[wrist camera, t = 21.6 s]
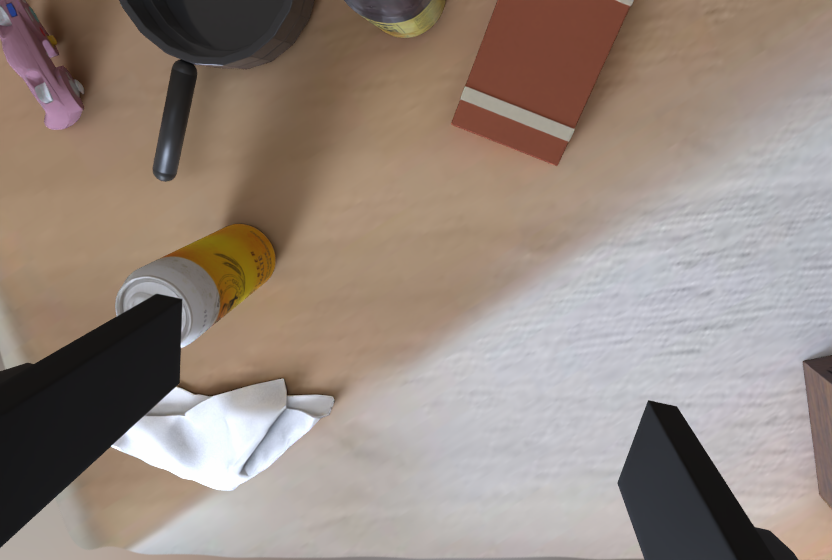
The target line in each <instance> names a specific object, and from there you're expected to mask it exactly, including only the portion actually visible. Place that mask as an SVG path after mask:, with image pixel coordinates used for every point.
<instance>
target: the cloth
mask: <svg viewBox="0 0 832 560" xmlns="http://www.w3.org/2000/svg"><path fill="white" fill-rule="evenodd" d="M334 402H335V400H334V398H333V396H327V395H318V394H314V395H287V390H286V385H285V381H284V378H283V379H278V380H273V381H268V382H264V383H259V384H254V385H250V386H247V387H243V388H240V389H237V390H233V391H230V392H226V393H222V394H219V395H215V396H205V395H201V394H198V395H194V394H192V393H190V392H188V391H187V390H185V389H183V388H180V387H177V386H176V387H175V388H174V389H173V390H172V391H171V392H170V393H169V394H168V395H166V396H165V397H164V398H163V399H162V400H161V401H160V402H159V403H158V404H157V405H156V406H154V407H153V408H152V409H151V410H150V411H149V412H148V413H147V414H146V415H145V416H143V417H142V418H141V419H140V420H139V421H138V422H137V423H136V424H135V425H134V426H133V427H131V428H130V429H129V430H128V431H127V432H126V433H125V434H124V435H123V436H122V437H121V438H119V439H118V440H117V441H116V442H115V443H114V444H113V445H112V446H111V447H113V448H116V449H118V450H120V451H122V452H125V453H127V454H130V455H132V456H135V457H137V458H140V459H141V460H143V461H145V462H147V463H148V464H150V465H153V466H156V467H159V468H162V469H165V470H168V471H170V472H172V473H174V474H176V475H178V476H180V477H182V478H184V479H190V480H194V481H196V482H199V483H201V484H203V485H206V486H208V487H211V488H214V489H217V490H227V491H231V490H234V489H235V488H236V487H237V486H238V485H239V484H241V483H244V482H246V481H247V480H249V479H250V478H252V477H254V476H255V475H257V474H258V473H260V472H261V471H263V470H265V469H266V468H268V467H269V466H270V465H271V464H272V463H273V462H274V461H275V460H276V459H278V458H279V457H280V456H281V455H282V454H283V453H284V452H285V451H286V450H287V449H288V448H289V447H290V446H291V445H292V444H294V443H295V442H296V441H297V440H298V439H299V438H300V437H302V436H303V435H304V434H305V433H306V432H308V431H309V430H310V429H311V428H312V427H313V426H314V425H315V424H316V423H317V421H318V420H319V419H320V418H323V417H325V416H328V415H330V412H331V410H332V407H333V404H334Z"/></svg>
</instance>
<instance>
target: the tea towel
mask: <svg viewBox="0 0 832 560" xmlns="http://www.w3.org/2000/svg"><path fill="white" fill-rule="evenodd" d="M633 1H634V0H498V1H497V3H496V6H495V9H494V11H493V14H492V17H491V19H490V22H489V25H488V27H487V30H486V33H485V35H484V38H483V41H482V43H481V46H480V49H479V51H478V54H477V56H476V59H475V62H474V64H473V67H472V70H471V72H470V75H469V78H468V80H467V83H466V86H465V87H464V90H463V93H462V95H461V98H460V102H459V104H458V107H457V109H456V112H455V115H454V117H453V120H452V123H451V124H452V125H454V126H456V127H459V128H462V129H464V130H467V131H469V132H472V133H474V134H477V135H479V136H482V137H484V138H487V139H490V140H492V141H495V142H497V143H500V144H502V145H505V146H507V147H510V148H512V149H515V150H517V151H520V152H523V153H525V154H528V155H530V156H533V157H535V158H538V159H540V160H543V161H545V162H548V163H550V164H553V165H556V166H557V165H558V164H559V161H560V159H561V157H562V155H563V153H564V150H565V148H566V146H567V144H568V142H569V141H570V139H571V136H572V134H573V132H574V130H575V126H576V124H577V122H578V120H579V118H580V115H581V113H582V111H583V109H584V107H585V104H586V102H587V100H588V98H589V96H590V94H591V91H592V89H593V87H594V85H595V83H596V80H597V78H598V76H599V74H600V72H601V69H602V67H603V65H604V63H605V61H606V59H607V56H608V54H609V52H610V50H611V48H612V45H613V43H614V41H615V39H616V37H617V34H618V32H619V30H620V28H621V26H622V23H623V21H624V19H625V17H626V15H627V13H628V10H629V8H630V6H631V5H632V3H633Z"/></svg>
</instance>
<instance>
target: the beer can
mask: <svg viewBox="0 0 832 560" xmlns="http://www.w3.org/2000/svg"><path fill="white" fill-rule="evenodd" d="M275 261H276V260H275V253H274V249H273V247H272V245H271V243H270V241H269V240H268V238H267V237H266V236H265V235H264V234H263V233H262V232H260V231H259V230H258V229H256V228H254V227H252V226H249V225H245V224H233V225H230V226H227V227H225V228H223V229H221V230H219V231H216V232H214V233H212V234H210V235H208V236H206V237H204V238H202V239H200V240H198V241H195V242H193V243H191V244H189V245H187V246H185V247H183V248H181V249H179V250H177V251H175V252H172V253H170V254H168V255H166V256H164V257H162V258H160V259H158V260H156V261H154V262H151V263H149V264H147V265H145V266H143V267H141V268H139V269H137V270H135V271H134V272H133V273H131V274H130V275H129V276H128V278H127V279H126V280H125V282H124V284H123V286H122V287H121V289H120V290H119V292H118V294H117V297H116V304H115V308H116V314H117V316H118V315H120V314H122V313H124V312H125V311H127V310H129V309H131V308H132V307H134V306H136V305H138V304H139V303H141V302H143V301H145V300H146V299H148V298H150V297H151V296H153V295H155V294H162V295H166V296H171V297H175V298H180V299H182V327H181V347H184V346H186V345H188V344H190V343H192V342H193V341H194V340H196V339H197V338H198V337H199V336H201V335H202V334H203V333H204V332H205V331H207V330H208V329H209V328H210V327H212V326H213V325H214V324H215V323H216V322H218V321H219V320H220V319H221V318H222V317H224V316H225V315H226V314H227V313H229V312H230V311H231V310H232V309H233V308H235V307H236V306H237V305H238V304H240V303H241V302H242V301H243V300H244V299H246V298H247V297H248V296H249V295H251V294H252V293H253V292H254V291H255V290H257V289H258V288H259V287H260V286H262V285H263V284H264V283H265V282H266V281H267V280H268V279H269V278H270V277H271V275H272V273H273V271H274V268H275Z"/></svg>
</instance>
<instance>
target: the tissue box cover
mask: <svg viewBox="0 0 832 560" xmlns="http://www.w3.org/2000/svg"><path fill="white" fill-rule="evenodd" d="M803 367H804V375H805V383H806V391H807V399H808V407H809V415H810V423H811V431H812V439H813V447H814V455H815V463H816V470H817V478H818V486H819V494H820V496H821V498H822V499H823V500H824V501H825V502H826V503H827V504H828V506H829V507H830V508H831V509H832V355H831V356H826V357H821V358H816V359H811V360H806V361H803Z"/></svg>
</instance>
